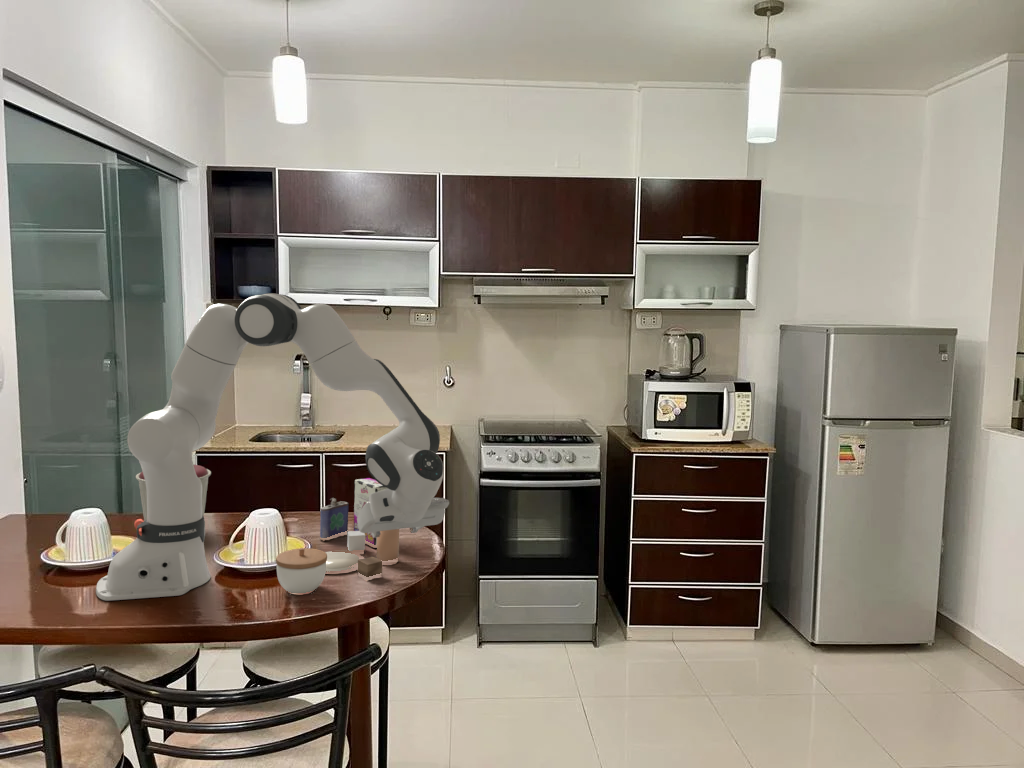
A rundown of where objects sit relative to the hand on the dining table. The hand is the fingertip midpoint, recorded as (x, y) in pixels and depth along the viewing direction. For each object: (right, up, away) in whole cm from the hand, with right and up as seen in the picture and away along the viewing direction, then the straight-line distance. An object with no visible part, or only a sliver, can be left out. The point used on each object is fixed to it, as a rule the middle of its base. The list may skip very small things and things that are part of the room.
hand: (394, 532), depth 174 cm
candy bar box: (-9, -7, +19) cm, 22 cm away
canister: (-62, -5, +20) cm, 65 cm away
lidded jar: (-18, -10, -15) cm, 25 cm away
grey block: (-12, -7, +11) cm, 18 cm away
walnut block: (-5, -9, -6) cm, 12 cm away
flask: (-20, -6, +22) cm, 31 cm away
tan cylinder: (-2, -8, +5) cm, 10 cm away
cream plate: (-14, -8, +2) cm, 17 cm away
